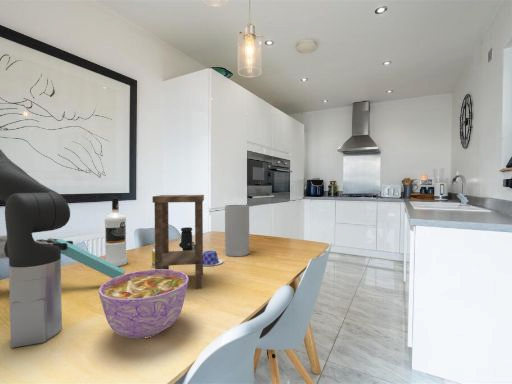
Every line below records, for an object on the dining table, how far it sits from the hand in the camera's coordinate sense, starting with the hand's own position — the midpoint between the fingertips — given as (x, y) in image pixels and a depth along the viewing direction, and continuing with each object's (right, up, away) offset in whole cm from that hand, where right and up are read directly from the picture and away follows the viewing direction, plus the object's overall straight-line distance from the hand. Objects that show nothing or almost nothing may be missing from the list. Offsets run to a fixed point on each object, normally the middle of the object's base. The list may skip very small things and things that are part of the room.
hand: (69, 245), depth 89 cm
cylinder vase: (+54, -14, +47) cm, 72 cm away
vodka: (+1, -14, +28) cm, 31 cm away
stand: (+36, -15, +6) cm, 40 cm away
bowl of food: (+37, -15, -25) cm, 47 cm away
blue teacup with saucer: (+42, -15, +31) cm, 54 cm away
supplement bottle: (+21, -14, +26) cm, 36 cm away
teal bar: (+5, -6, +1) cm, 8 cm away
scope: (+29, -14, +43) cm, 54 cm away
